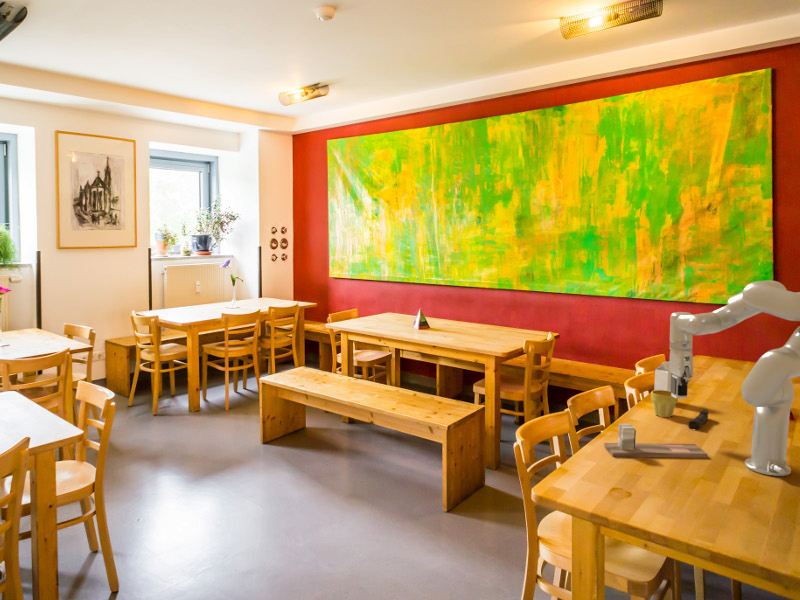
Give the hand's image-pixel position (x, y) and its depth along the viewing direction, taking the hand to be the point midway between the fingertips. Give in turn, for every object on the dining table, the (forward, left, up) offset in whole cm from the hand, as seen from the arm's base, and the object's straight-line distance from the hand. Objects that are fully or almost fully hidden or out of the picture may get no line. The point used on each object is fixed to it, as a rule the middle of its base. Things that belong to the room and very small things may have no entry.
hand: (679, 393), depth 208 cm
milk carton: (+46, -16, -17) cm, 52 cm away
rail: (-15, +14, -17) cm, 27 cm away
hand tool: (+17, -16, -18) cm, 29 cm away
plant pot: (+27, -7, -17) cm, 33 cm away
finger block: (0, 0, -1) cm, 1 cm away
